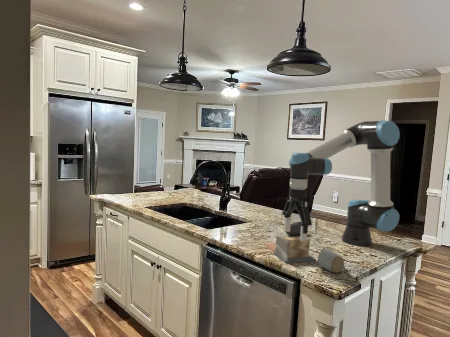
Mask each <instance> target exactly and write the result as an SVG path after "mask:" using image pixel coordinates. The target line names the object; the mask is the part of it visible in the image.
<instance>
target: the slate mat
mask: <svg viewBox="0 0 450 337" xmlns="http://www.w3.org/2000/svg"><path fill="white" fill-rule="evenodd" d="M272 253H273V255H274V256H275V257H276V256H277V257H276V258H278V259H279V260H280V259H281V260H280V261H281V262H283V261H284V262H283V263H284V264H293V263H297V264H298V263H307V262H309V263H310V262H316V261H317V258H315V257H313V256H312V255H309V257H297V258H288V261H286V260H284V259H283V258H281V257H280V256H279V255H277V254H276V253H274V252H272Z"/></svg>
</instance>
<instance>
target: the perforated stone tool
mask: <svg viewBox="0 0 450 337" xmlns="http://www.w3.org/2000/svg"><path fill="white" fill-rule="evenodd" d="M304 223H305V222H304ZM301 225H302V222H301V221H297V222H293V223H291V225H290V232H285V233H286V235H287V236H298V235H301Z"/></svg>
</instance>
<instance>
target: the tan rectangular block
mask: <svg viewBox="0 0 450 337" xmlns="http://www.w3.org/2000/svg"><path fill="white" fill-rule="evenodd" d="M275 243H276V246H275V253H276V254H277V255H279V256H280V257H281V258H283V259H284V260H286V261H288V258H297V257H309V254H310V243H311V238H308V237H307V241H300V236H286V237H285V236H283V237H282V236H280V235H276V237H275Z"/></svg>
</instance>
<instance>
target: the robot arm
mask: <svg viewBox="0 0 450 337" xmlns="http://www.w3.org/2000/svg"><path fill="white" fill-rule="evenodd" d="M400 133H401V132H400V129H399V127H398V126H397V125H396V122H393V121H392V120H367V121H362V122H358V123H356V124H354V125H352V126H350V127H348V128H347V129H346V128H345V129H344V130H342V132H341V134H338V135H337V136H335V137H333V138H331V139H330V140H327V141H325V142H324V143H322V144H319V146H316V147H314V148H313V149H312V148H311V150H309V151H307V152H293V153H292V154H291V157H290V159H289V162H288V166H289V168H290V170H289V171H290V172H289V178H290V179H289V189H288V196H286V202H285V205H284V207H283V209H282V214H281V215H282V216H283V217H284V227H283V232H284V233H286V232H290V225H291V224H292V223H291V222H292V221H291V220H292V214H293V213H294V211H295V210H296V212H297V214H298V216H299V219H300V222H302V225H301V234H299V235H300V236H299V237H300V241H307V238H308V230H309V227H310V226H312V219H311V214H310V208H309V206H310V205H309V201H305V200H304V199H306V198H307V193H308V192H307V191H308V190H307V189H308V180H309V178H308V177H309V176H310V175H311V176H312V175H313V176H327V175H329V174H331V172H332V170H333V163H332V161H331V160H330V158H331V157H333V156H334V155H337V154H338V153H340V152H342V151H344V150H346V149H348V148H354V147H355V146H359V145H360V146H361V145H367V146H366V149H367V151H369V153H370V200H369V199H351V200H349V202H348V206H347V213H346V214H347V218H346V227H345V229H344V231H343V233H342V235H341V240H342V241H343V242H344V243H347V244H350V245H354V246H361V247H368V246H372V244H373V239H372V235H371V231H370V230H371V229H370V228H372V229H375V230H378V231H382V232H388V233H389V232H391V231H393V230H394V229H395V228H396V227H397V225H398V224H399V222H400V213H399V212H398V210H397V209H396V208H395V205H394V202H393V201H392V200H391V152H392V151H393V150H394V148H395V147H394V146H395V145H396V144H398V142H399V140H400V138H401V137H400V136H401V135H400ZM304 222H305V223H304Z"/></svg>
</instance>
